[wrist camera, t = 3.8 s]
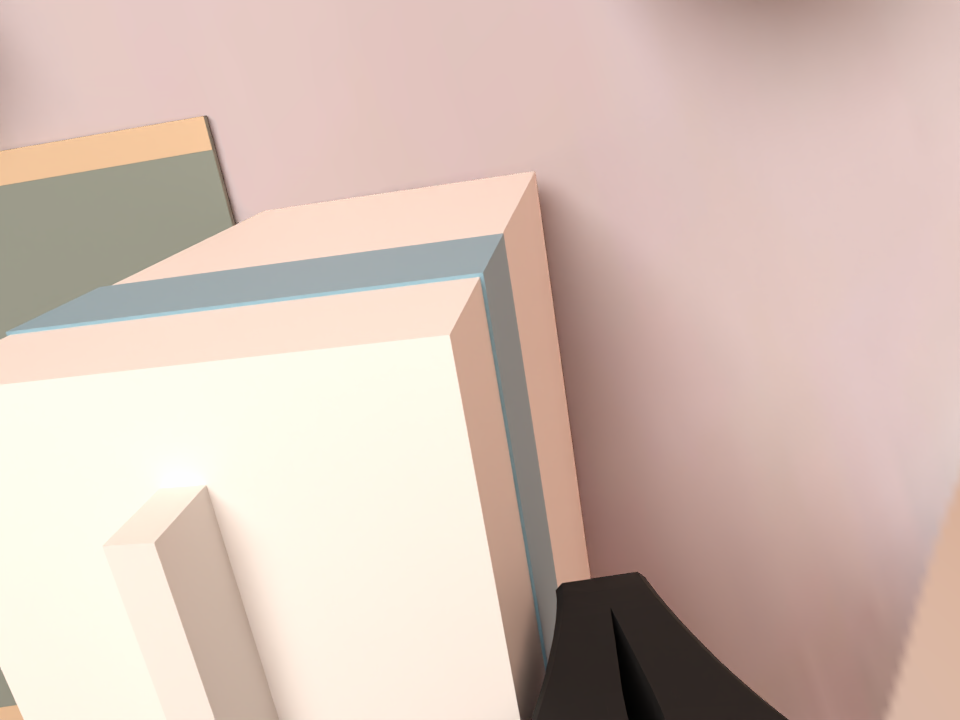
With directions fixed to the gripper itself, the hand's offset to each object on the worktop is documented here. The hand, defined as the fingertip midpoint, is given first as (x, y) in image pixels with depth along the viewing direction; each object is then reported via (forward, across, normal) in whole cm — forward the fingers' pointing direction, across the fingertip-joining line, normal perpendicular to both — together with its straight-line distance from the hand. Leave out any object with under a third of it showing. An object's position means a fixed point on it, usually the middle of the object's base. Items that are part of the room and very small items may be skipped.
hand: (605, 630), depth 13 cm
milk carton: (+10, +3, 0) cm, 10 cm away
